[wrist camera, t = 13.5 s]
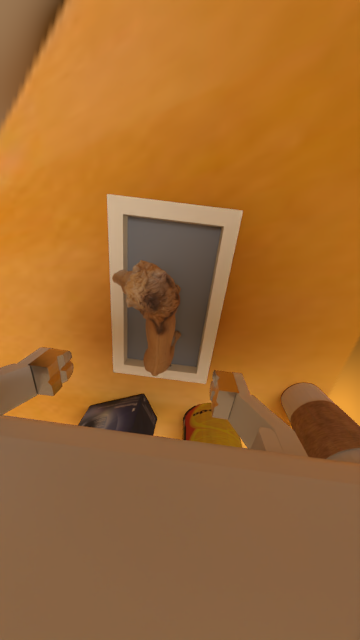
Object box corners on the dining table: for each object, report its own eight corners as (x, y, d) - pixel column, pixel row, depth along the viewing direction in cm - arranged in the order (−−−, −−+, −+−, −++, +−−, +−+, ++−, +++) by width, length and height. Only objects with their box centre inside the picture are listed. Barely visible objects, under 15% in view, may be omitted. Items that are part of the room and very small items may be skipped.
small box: (143, 390, 30) (121, 461, 20) (158, 418, 32) (144, 493, 23) (88, 404, 32) (43, 474, 22) (105, 429, 34) (72, 503, 24)
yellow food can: (197, 395, 30) (201, 486, 19) (245, 414, 31) (276, 511, 20) (174, 429, 33) (167, 523, 22) (219, 445, 34) (233, 543, 23)
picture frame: (236, 214, 20) (243, 210, 17) (204, 372, 28) (205, 383, 25) (116, 199, 20) (106, 193, 17) (119, 361, 28) (113, 372, 26)
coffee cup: (341, 396, 28) (486, 543, 14) (294, 424, 31) (379, 570, 17) (307, 366, 26) (435, 500, 13) (261, 398, 29) (324, 538, 15)
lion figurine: (132, 258, 21) (94, 268, 13) (178, 253, 20) (170, 259, 12) (153, 364, 26) (136, 419, 18) (190, 362, 26) (190, 418, 18)
